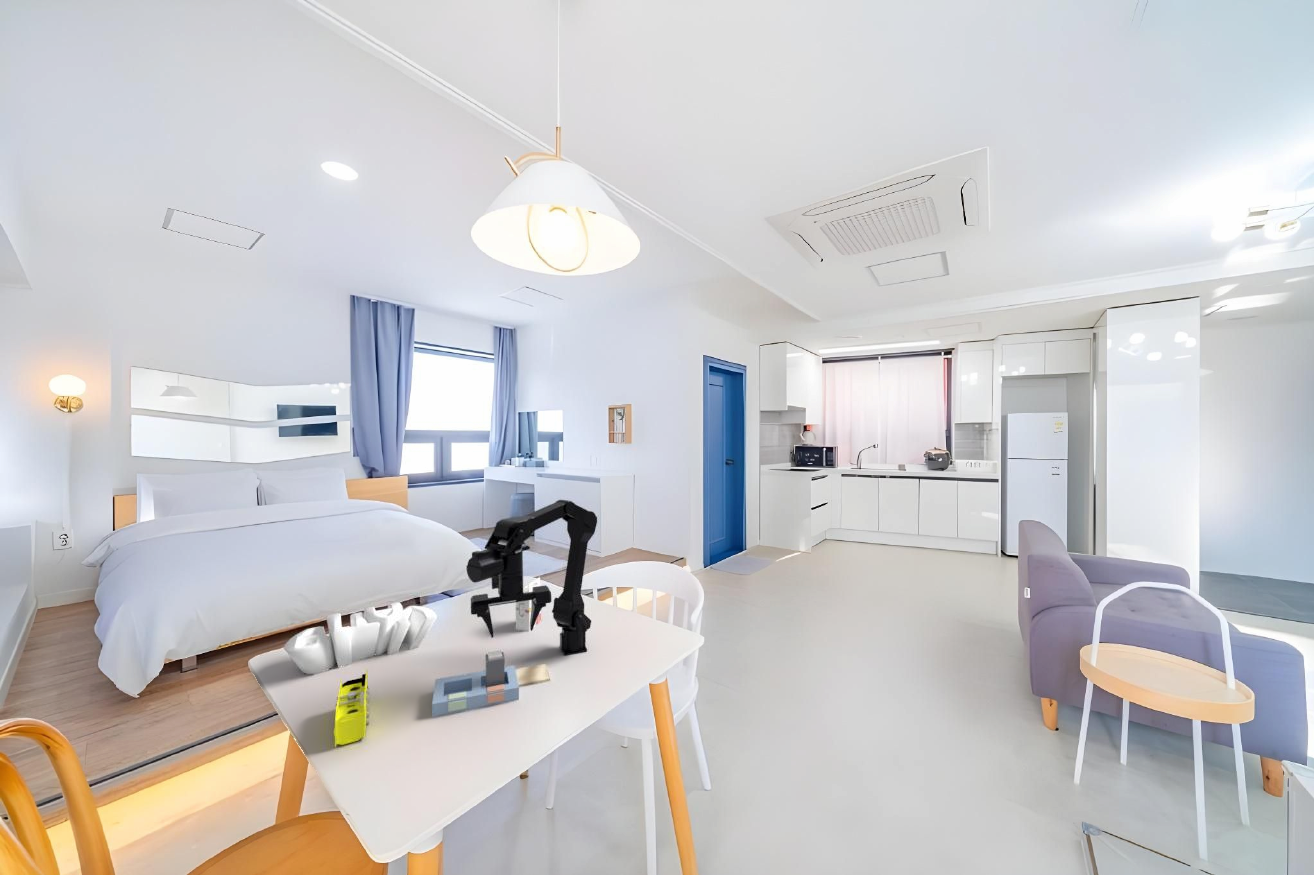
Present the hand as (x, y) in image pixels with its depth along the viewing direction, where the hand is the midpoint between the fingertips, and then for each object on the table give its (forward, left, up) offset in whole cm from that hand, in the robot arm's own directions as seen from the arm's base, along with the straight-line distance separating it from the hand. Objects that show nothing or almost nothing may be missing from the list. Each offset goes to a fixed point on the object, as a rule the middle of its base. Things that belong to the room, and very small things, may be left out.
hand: (512, 633), depth 114 cm
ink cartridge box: (-8, -33, -12) cm, 37 cm away
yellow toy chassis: (+33, +5, -12) cm, 35 cm away
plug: (+4, +4, -11) cm, 13 cm away
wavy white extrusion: (+37, -31, -12) cm, 50 cm away
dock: (+8, +4, -12) cm, 15 cm away
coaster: (-5, 0, -12) cm, 13 cm away
